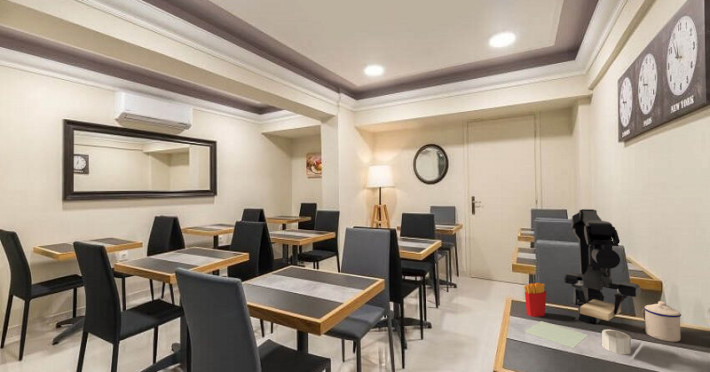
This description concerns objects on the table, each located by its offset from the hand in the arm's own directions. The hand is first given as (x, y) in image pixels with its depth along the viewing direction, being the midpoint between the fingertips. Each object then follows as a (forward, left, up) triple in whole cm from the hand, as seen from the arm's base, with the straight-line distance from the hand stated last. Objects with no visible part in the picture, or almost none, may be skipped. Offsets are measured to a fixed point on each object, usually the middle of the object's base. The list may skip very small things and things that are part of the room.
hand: (600, 310), depth 103 cm
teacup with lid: (-26, +10, -12) cm, 30 cm away
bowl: (-1, +4, -12) cm, 12 cm away
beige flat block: (0, 0, -1) cm, 1 cm away
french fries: (-10, -24, -12) cm, 29 cm away
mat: (+2, -12, -12) cm, 17 cm away
